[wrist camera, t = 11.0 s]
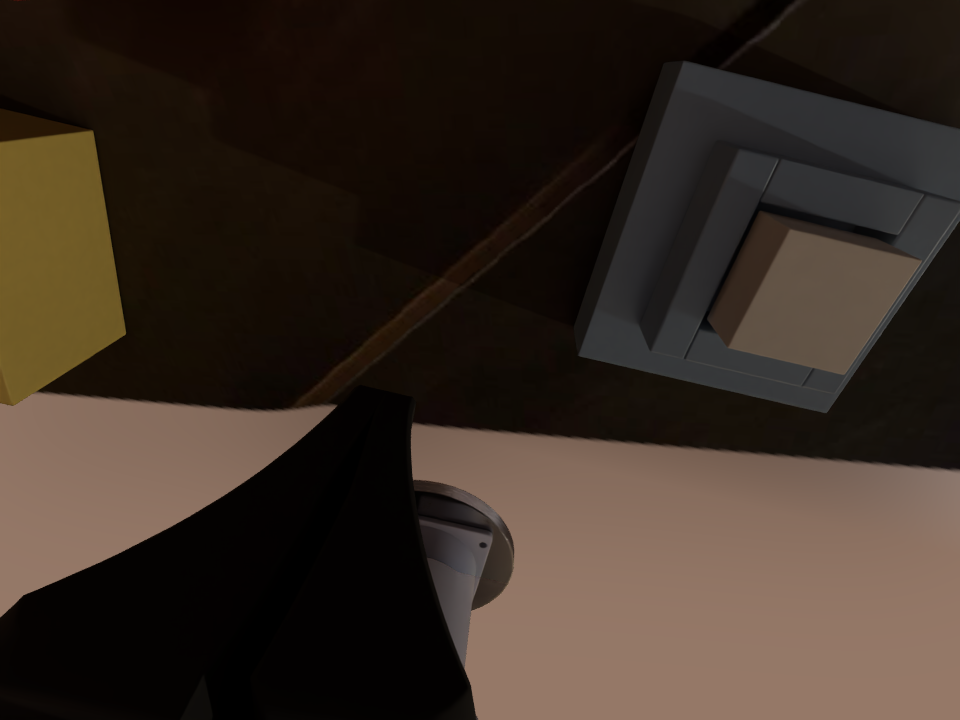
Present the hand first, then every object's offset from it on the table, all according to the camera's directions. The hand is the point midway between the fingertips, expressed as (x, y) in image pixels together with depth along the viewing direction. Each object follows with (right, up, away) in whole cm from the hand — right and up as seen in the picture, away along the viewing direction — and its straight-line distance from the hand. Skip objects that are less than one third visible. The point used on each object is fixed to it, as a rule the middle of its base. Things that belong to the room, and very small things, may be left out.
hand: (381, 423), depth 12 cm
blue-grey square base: (+12, +6, +7) cm, 15 cm away
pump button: (+12, +4, +4) cm, 13 cm away
